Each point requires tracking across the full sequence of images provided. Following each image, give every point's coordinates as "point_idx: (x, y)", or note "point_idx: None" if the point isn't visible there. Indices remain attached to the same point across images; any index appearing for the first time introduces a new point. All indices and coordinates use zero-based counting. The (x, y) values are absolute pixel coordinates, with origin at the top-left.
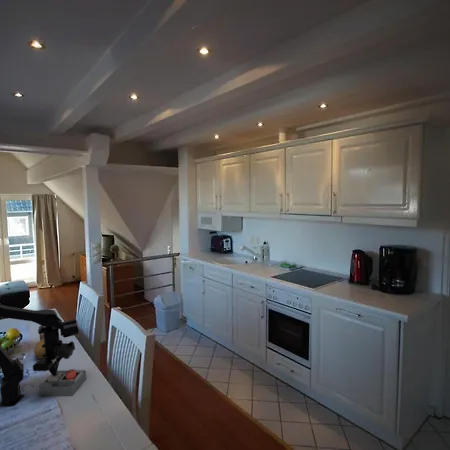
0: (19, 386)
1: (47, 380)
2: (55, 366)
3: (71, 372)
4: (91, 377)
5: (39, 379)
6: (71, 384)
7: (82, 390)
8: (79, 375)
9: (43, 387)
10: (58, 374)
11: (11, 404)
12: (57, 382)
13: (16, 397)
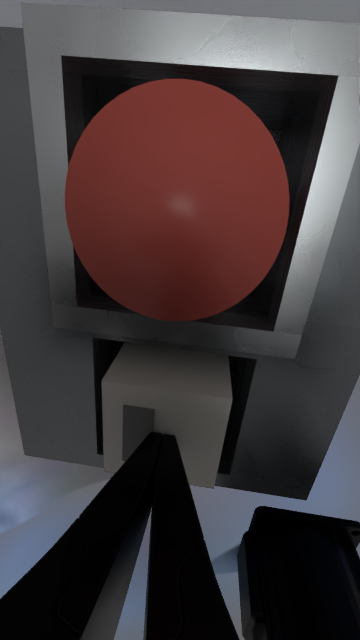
0: (270, 606)
1: None
2: (189, 619)
3: (205, 180)
4: (2, 13)
5: (75, 483)
6: None
7: (296, 8)
8: (173, 18)
9: (318, 456)
10: (140, 407)
11: (357, 538)
12: (269, 358)
13: (330, 553)
